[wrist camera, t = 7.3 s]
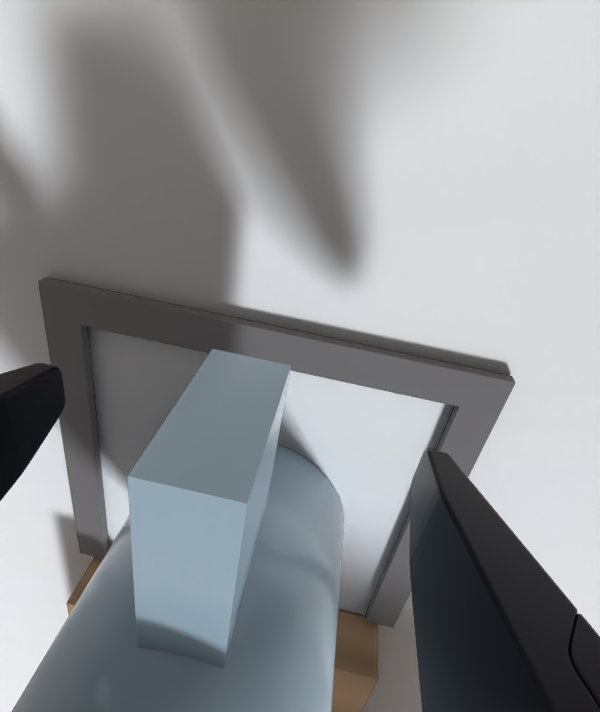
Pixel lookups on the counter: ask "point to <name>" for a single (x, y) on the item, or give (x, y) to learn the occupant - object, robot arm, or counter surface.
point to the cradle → (351, 653)
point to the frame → (286, 346)
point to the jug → (210, 568)
